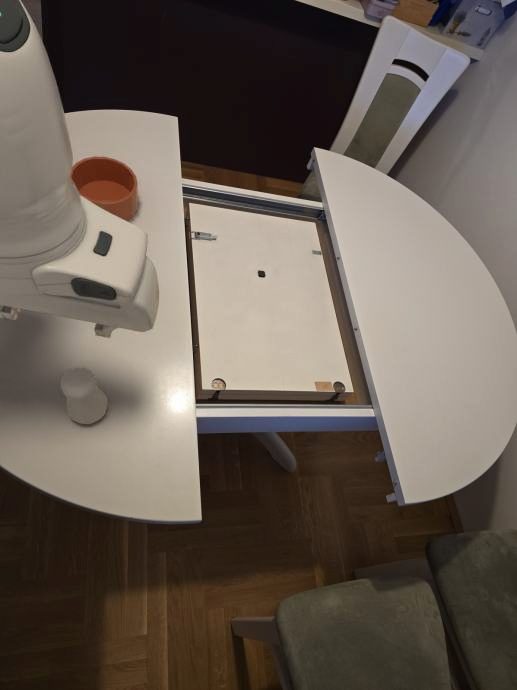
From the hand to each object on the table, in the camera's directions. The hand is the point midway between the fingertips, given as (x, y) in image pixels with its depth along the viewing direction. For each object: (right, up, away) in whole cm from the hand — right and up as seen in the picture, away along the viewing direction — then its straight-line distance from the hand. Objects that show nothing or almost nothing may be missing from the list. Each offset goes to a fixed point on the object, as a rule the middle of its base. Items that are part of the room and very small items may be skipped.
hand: (59, 322), depth 41 cm
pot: (-10, +27, +38) cm, 47 cm away
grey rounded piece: (-5, -13, +20) cm, 24 cm away
